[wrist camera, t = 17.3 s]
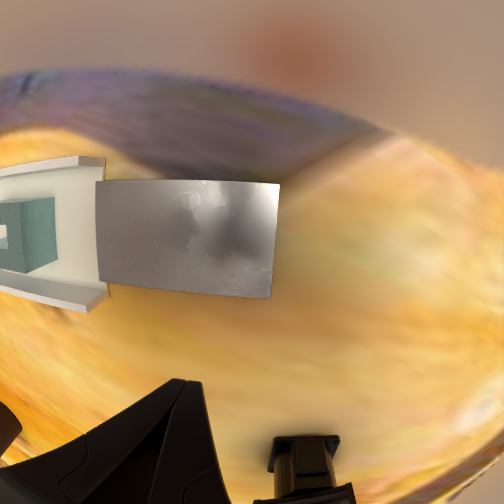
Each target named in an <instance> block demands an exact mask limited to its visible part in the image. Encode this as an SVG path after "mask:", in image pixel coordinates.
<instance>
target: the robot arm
mask: <svg viewBox="0 0 504 504" xmlns="http://www.w3.org/2000/svg"><path fill="white" fill-rule="evenodd" d="M339 443H340V437H339V436H328V437H277V438H275V439H274V440H273V444H272V449H271V454H270V459H269V463H268V472H270V473H274V499H267V500H260V499H259V500H254V502H253V504H356V499H355V495H354V491H353V487H352V483H351V482H350V483H346V485H342V486H338V487H337V484H336V479H335V473H334V468H333V463H332V458H333V456H334V454H335V452H336V450H337V447H338V445H339ZM0 504H232V503H231V501H230V499H229V496H228V493H227V490H226V487H225V484H224V481H223V477H222V473H221V469H220V467H219V462H218V458H217V454H216V449H215V445H214V441H213V436H212V431H211V427H210V422H209V417H208V412H207V407H206V402H205V397H204V391H203V386H202V383H201V382H199V381H191V380H189V381H186V380H184V379H177V378H173V379H171V380H169V381H168V382H166V383H165V384H163V385H162V386H160V387H159V388H157V389H156V390H154V391H153V392H151V393H150V394H148V395H147V396H145V397H143V398H142V399H140V400H139V401H137V402H136V403H134V404H133V405H131V406H129V407H128V408H126V409H125V410H123V411H121V412H120V413H118V414H117V415H115V416H113V417H112V418H110V419H108V420H107V421H105V422H103V423H102V424H100V425H98V426H97V427H95V428H93V429H92V430H90V431H88V432H87V433H86V435H85V434H83V435H81V436H79V437H78V438H76V439H74V440H72V441H70V442H68V443H66V444H64V445H62V446H61V447H58V448H56V449H54V450H52V451H49V452H47V453H44V454H42V455H39V456H37V457H34V458H31V459H28V460H25V461H23V462H20V463H17V464H14V465H11V466H7V467H2V468H0Z"/></svg>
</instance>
